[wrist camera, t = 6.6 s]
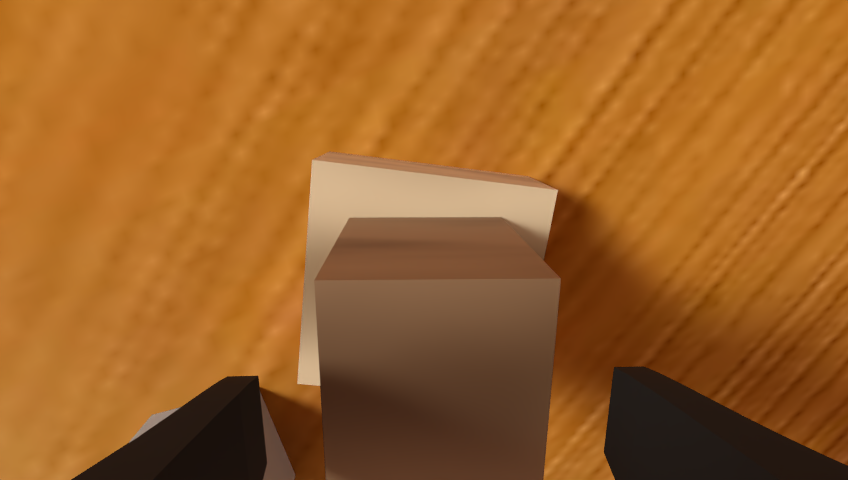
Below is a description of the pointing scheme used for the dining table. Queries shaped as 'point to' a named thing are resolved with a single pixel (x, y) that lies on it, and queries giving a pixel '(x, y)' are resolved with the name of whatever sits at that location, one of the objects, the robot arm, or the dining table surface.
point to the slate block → (278, 464)
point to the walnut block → (435, 350)
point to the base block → (407, 212)
